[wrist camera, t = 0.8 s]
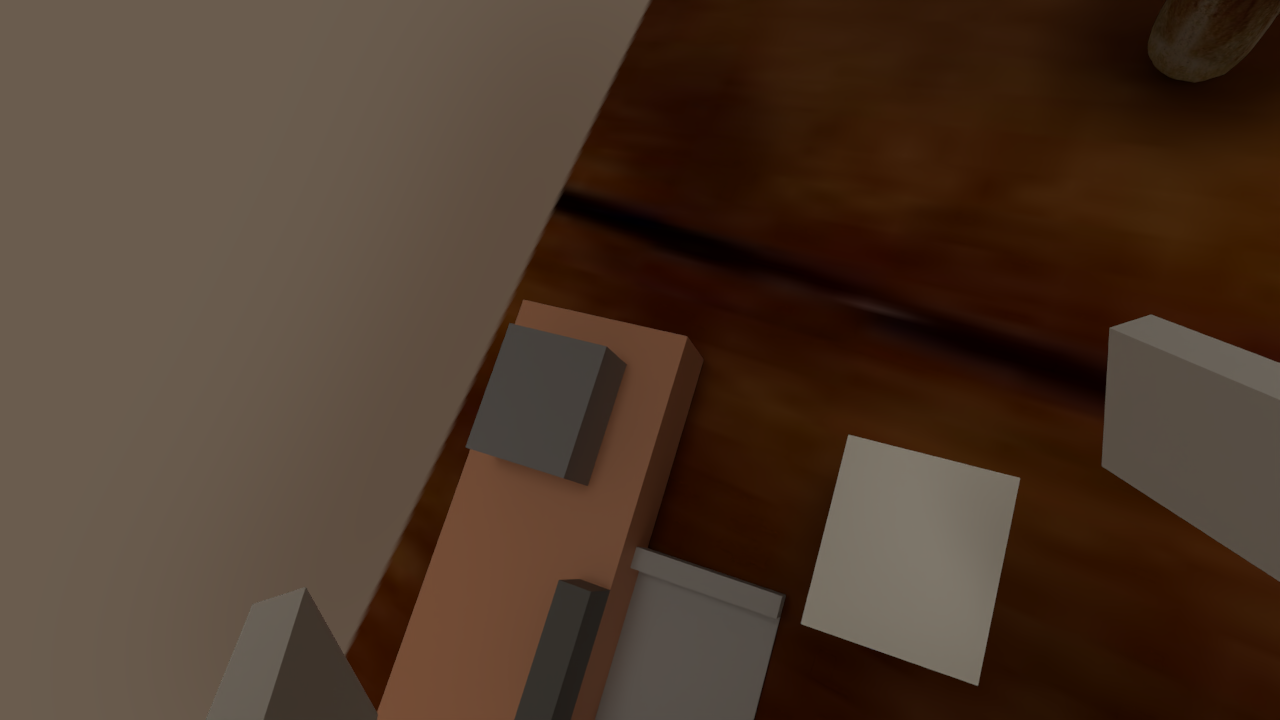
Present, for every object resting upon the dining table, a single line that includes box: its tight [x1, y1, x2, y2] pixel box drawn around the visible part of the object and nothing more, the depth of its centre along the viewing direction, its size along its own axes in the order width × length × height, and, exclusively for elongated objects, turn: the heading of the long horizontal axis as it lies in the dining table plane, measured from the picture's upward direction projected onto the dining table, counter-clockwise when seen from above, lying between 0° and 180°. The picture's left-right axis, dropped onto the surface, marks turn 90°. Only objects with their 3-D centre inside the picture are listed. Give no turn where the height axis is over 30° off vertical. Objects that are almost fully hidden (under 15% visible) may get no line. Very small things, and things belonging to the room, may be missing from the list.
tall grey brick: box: [801, 435, 1020, 686], centre depth 27 cm, size 6×5×12 cm
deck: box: [377, 300, 786, 720], centre depth 33 cm, size 22×16×7 cm
